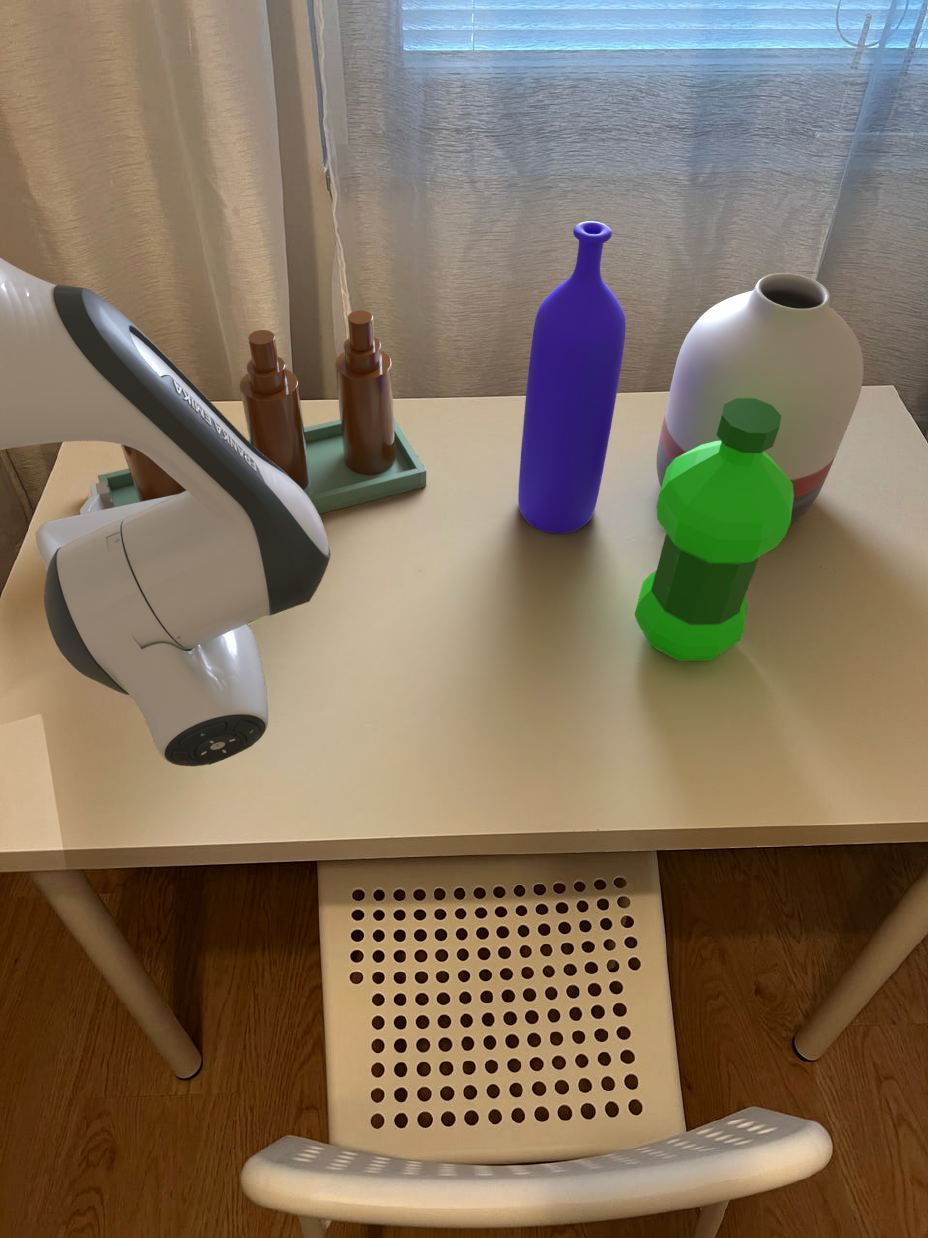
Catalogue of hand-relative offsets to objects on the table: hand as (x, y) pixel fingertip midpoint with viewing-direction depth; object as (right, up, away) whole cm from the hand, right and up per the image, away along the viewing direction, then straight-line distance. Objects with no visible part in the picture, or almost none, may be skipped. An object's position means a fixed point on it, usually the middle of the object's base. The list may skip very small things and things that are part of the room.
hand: (156, 477), depth 83 cm
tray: (+6, +1, +16) cm, 17 cm away
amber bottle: (-3, -1, +13) cm, 13 cm away
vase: (+55, 0, +17) cm, 58 cm away
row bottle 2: (+17, +5, +19) cm, 26 cm away
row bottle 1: (+8, +2, +16) cm, 18 cm away
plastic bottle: (+47, -14, +4) cm, 49 cm away
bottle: (+37, -1, +15) cm, 40 cm away
